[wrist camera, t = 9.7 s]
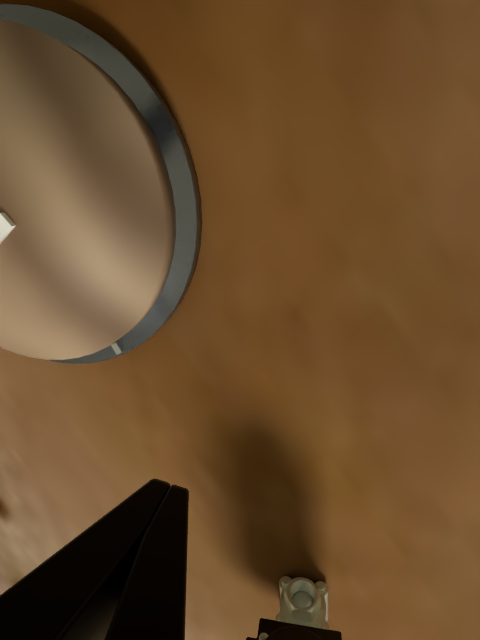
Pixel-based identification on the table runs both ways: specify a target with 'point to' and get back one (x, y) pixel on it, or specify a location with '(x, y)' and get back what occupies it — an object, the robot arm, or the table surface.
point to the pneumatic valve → (299, 613)
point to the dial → (75, 202)
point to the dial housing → (172, 153)
